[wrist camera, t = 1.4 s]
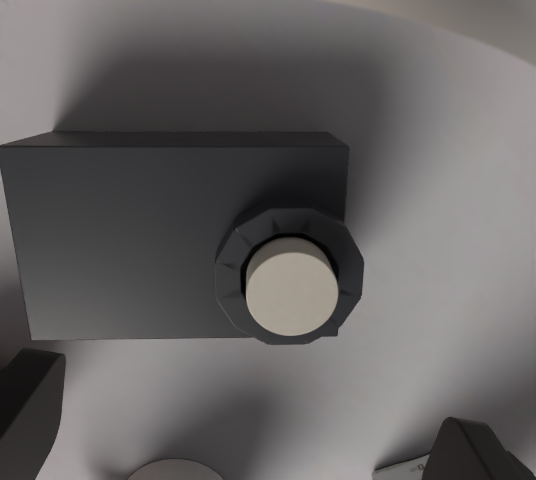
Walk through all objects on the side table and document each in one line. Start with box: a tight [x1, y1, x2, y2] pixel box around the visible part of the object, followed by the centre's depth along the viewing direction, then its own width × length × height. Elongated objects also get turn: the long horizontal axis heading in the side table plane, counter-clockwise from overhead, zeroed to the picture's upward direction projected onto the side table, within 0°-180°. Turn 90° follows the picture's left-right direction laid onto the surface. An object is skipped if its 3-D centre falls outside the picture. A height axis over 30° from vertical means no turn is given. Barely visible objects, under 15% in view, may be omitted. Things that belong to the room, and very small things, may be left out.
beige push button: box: [246, 237, 338, 336], centre depth 21 cm, size 4×4×2 cm
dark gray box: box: [0, 131, 364, 345], centre depth 25 cm, size 17×10×8 cm, turn 90°
